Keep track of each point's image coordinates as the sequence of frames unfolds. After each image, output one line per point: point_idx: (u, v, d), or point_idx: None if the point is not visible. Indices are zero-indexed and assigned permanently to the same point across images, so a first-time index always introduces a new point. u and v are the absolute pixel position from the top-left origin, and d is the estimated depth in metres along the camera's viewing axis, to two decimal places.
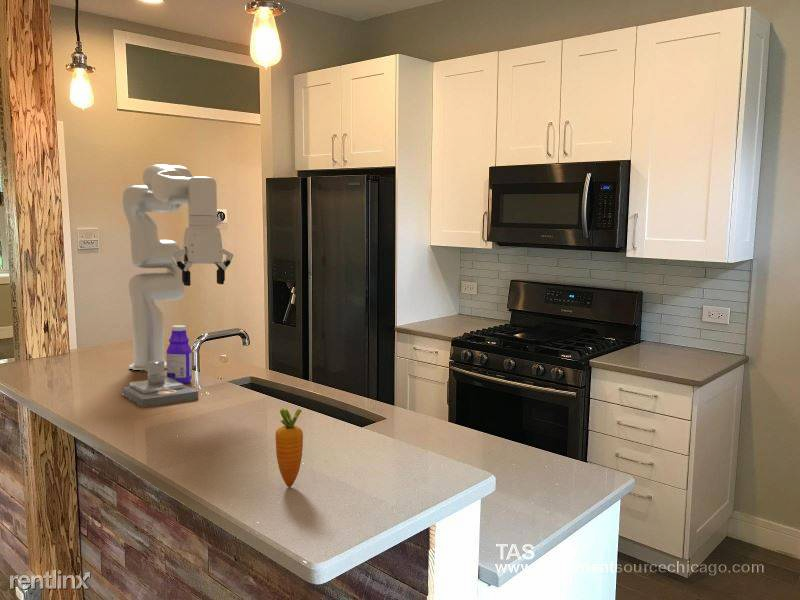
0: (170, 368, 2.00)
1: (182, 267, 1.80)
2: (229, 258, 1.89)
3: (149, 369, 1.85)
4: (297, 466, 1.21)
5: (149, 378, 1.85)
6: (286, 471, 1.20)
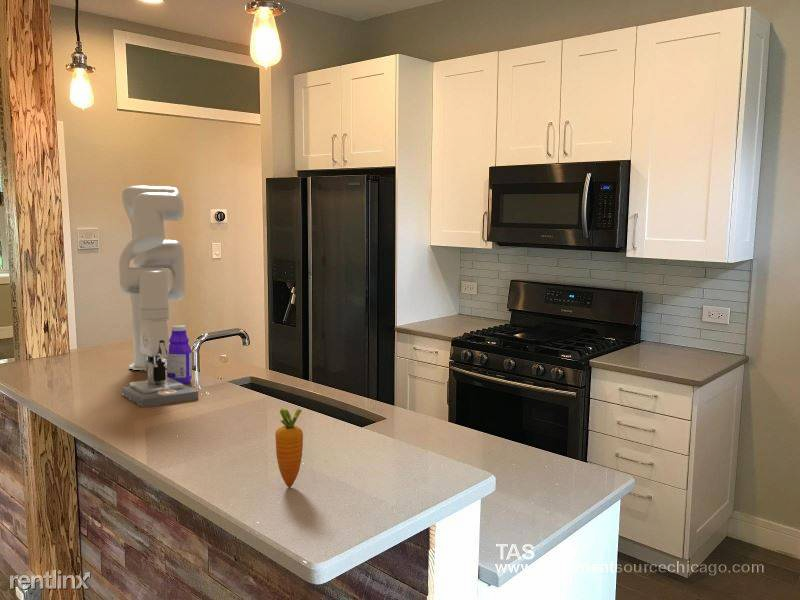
0: (170, 368, 2.00)
1: (164, 365, 1.84)
2: None
3: (149, 369, 1.85)
4: (297, 466, 1.21)
5: (149, 378, 1.85)
6: (286, 471, 1.20)
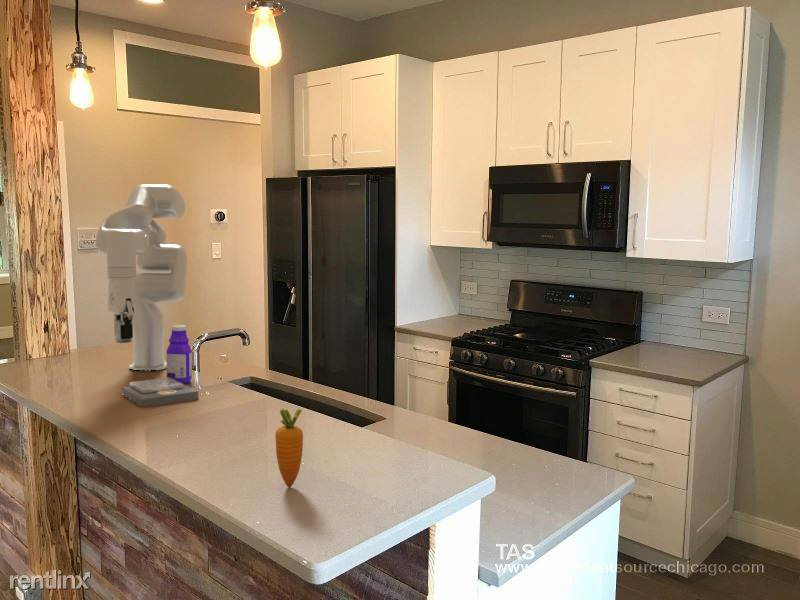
0: (170, 368, 2.00)
1: (131, 322, 1.88)
2: None
3: (116, 327, 1.89)
4: (297, 466, 1.21)
5: (116, 336, 1.89)
6: (286, 471, 1.20)
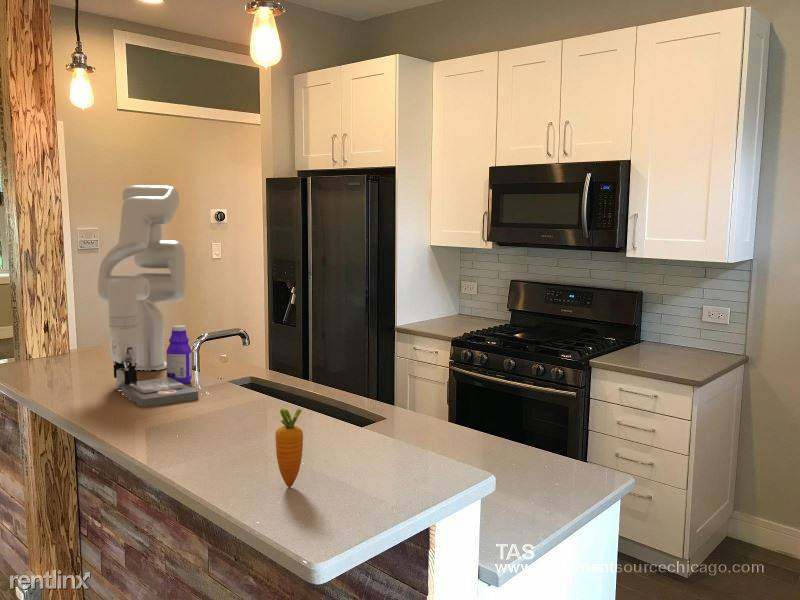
0: (170, 368, 2.00)
1: (134, 367, 1.88)
2: None
3: (118, 376, 1.91)
4: (297, 466, 1.21)
5: (118, 385, 1.91)
6: (286, 471, 1.20)
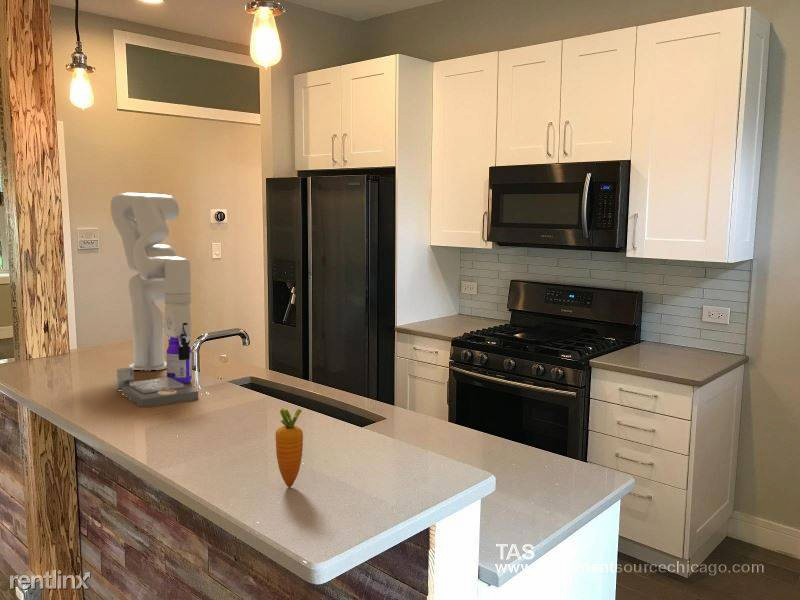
0: (170, 368, 2.00)
1: (188, 344, 1.98)
2: None
3: (118, 376, 1.91)
4: (297, 466, 1.21)
5: (118, 385, 1.91)
6: (286, 471, 1.20)
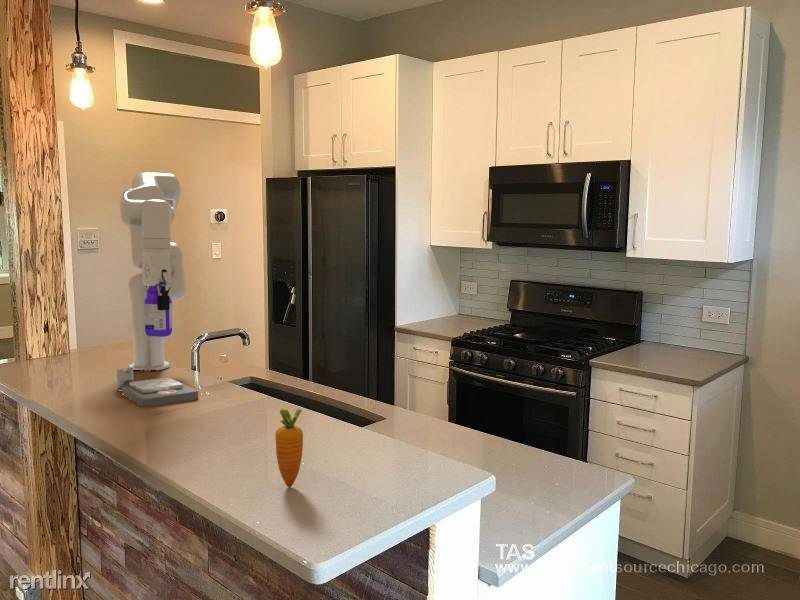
0: (149, 319, 1.85)
1: (168, 292, 1.83)
2: None
3: (117, 376, 1.91)
4: (297, 466, 1.21)
5: (118, 384, 1.91)
6: (286, 471, 1.20)
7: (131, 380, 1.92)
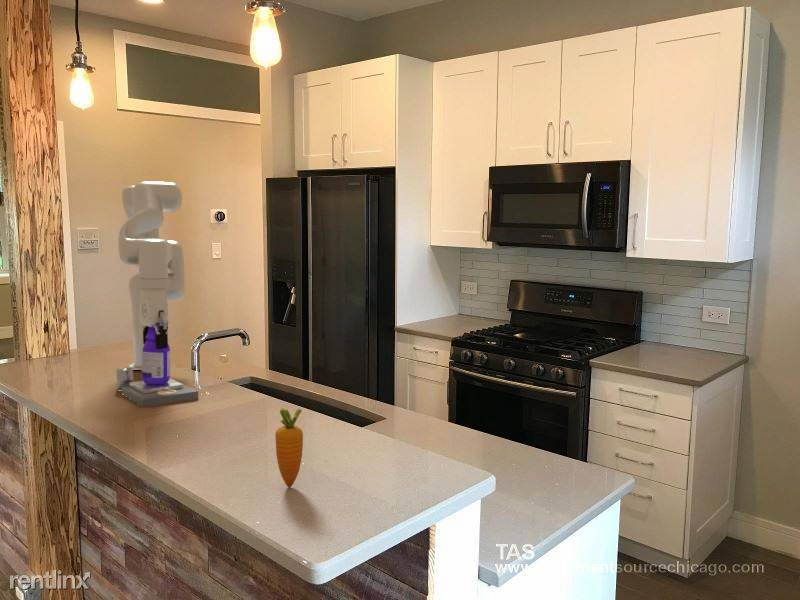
0: (146, 367, 1.84)
1: None
2: None
3: (116, 376, 1.91)
4: (297, 466, 1.21)
5: (117, 384, 1.91)
6: (286, 471, 1.20)
7: (130, 380, 1.91)
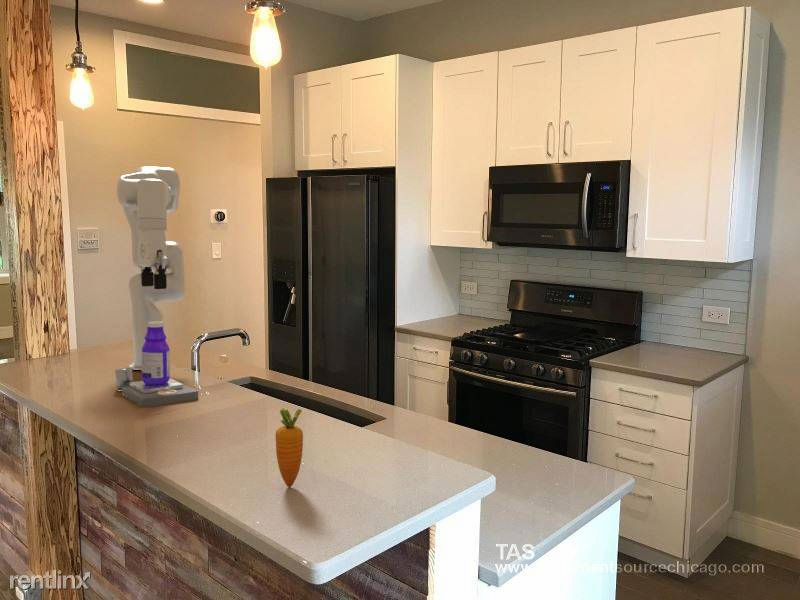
0: (146, 367, 1.84)
1: (164, 270, 1.79)
2: None
3: None
4: (297, 466, 1.21)
5: None
6: (286, 471, 1.20)
7: (128, 380, 1.91)
